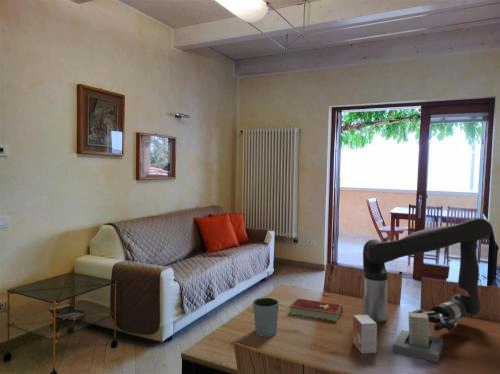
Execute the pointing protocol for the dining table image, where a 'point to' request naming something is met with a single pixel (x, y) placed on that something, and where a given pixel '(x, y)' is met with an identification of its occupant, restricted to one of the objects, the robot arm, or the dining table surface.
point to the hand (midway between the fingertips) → (423, 323)
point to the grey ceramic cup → (266, 316)
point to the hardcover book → (316, 309)
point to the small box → (364, 333)
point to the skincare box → (419, 329)
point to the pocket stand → (415, 351)
